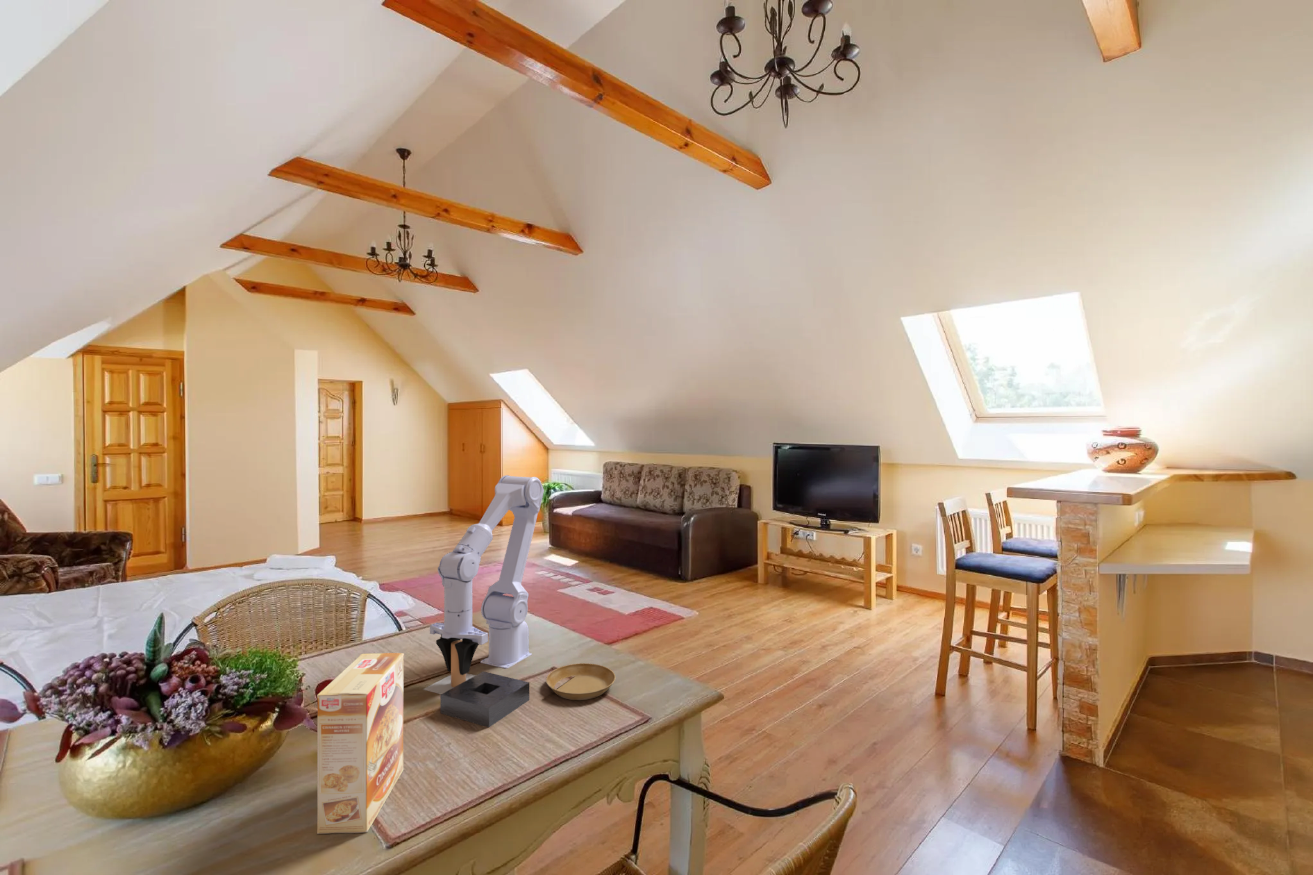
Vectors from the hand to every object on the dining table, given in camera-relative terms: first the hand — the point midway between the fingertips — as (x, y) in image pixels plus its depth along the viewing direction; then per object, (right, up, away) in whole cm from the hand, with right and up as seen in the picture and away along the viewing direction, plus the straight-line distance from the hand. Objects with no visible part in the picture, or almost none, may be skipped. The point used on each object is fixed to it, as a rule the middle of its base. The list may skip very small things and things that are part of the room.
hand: (458, 671), depth 126 cm
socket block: (+9, -4, -10) cm, 13 cm away
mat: (0, -3, 0) cm, 3 cm away
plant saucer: (+26, -4, 0) cm, 27 cm away
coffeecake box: (-1, -4, -38) cm, 38 cm away
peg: (0, -3, 0) cm, 3 cm away
